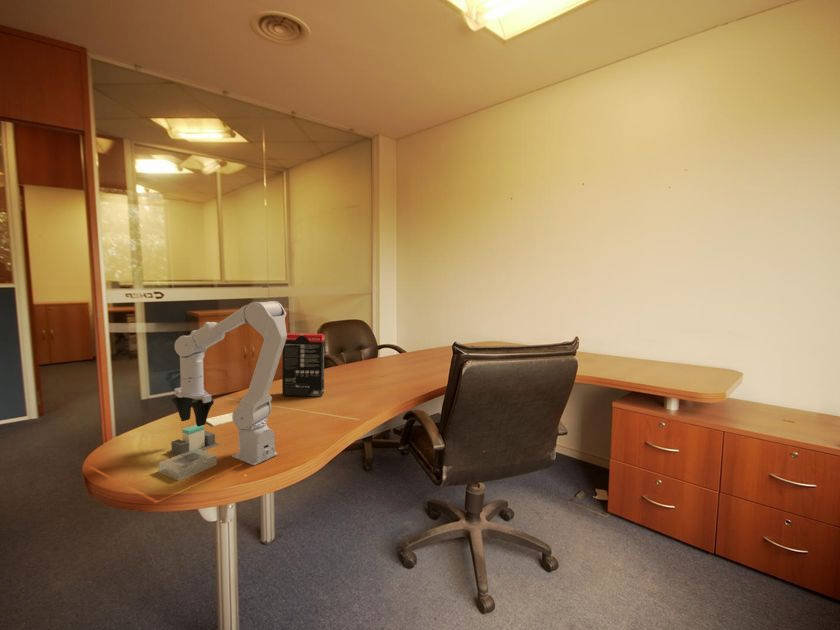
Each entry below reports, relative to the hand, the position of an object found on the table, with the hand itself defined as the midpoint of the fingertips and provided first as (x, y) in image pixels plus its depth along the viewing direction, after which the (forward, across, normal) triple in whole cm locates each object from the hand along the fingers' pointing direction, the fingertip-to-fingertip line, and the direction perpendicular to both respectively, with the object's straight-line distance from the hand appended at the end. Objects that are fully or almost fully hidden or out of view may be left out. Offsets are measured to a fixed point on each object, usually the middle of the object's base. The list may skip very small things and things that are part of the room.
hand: (193, 422), depth 112 cm
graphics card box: (+8, -14, +57) cm, 59 cm away
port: (+8, +11, -8) cm, 16 cm away
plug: (+8, 0, 0) cm, 8 cm away
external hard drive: (+9, -14, +20) cm, 26 cm away
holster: (+8, 0, 0) cm, 8 cm away
